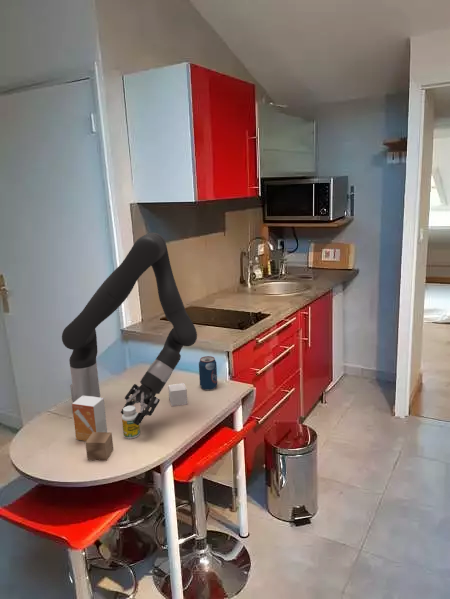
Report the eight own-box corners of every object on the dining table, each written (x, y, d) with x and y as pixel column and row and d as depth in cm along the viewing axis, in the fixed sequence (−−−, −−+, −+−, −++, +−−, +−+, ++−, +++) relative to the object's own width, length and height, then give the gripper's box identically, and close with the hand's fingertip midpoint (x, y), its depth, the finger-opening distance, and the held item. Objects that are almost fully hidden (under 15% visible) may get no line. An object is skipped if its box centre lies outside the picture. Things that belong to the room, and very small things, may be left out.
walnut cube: (87, 460, 144) (85, 442, 142) (94, 449, 150) (92, 432, 148) (106, 460, 143) (104, 443, 142) (113, 449, 149) (111, 432, 147)
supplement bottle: (136, 428, 161) (133, 402, 158) (142, 435, 156) (140, 408, 154) (121, 434, 158) (118, 407, 155) (127, 441, 153) (124, 413, 151)
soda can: (217, 390, 187) (215, 361, 184) (199, 391, 187) (197, 362, 184) (217, 383, 194) (216, 355, 191) (200, 383, 194) (199, 355, 191)
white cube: (187, 404, 177) (186, 389, 175) (171, 406, 176) (170, 391, 174) (185, 397, 183) (184, 382, 181) (169, 399, 181) (168, 384, 180)
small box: (75, 440, 155) (71, 403, 152) (86, 430, 161) (82, 394, 158) (97, 443, 153) (93, 406, 149) (108, 433, 159) (104, 397, 155)
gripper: (138, 365, 162) (110, 406, 158) (160, 377, 152) (131, 422, 148) (153, 375, 167) (126, 416, 163) (175, 387, 156) (148, 432, 152)
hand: (129, 419), depth 155 cm, fingers open, 8 cm apart
